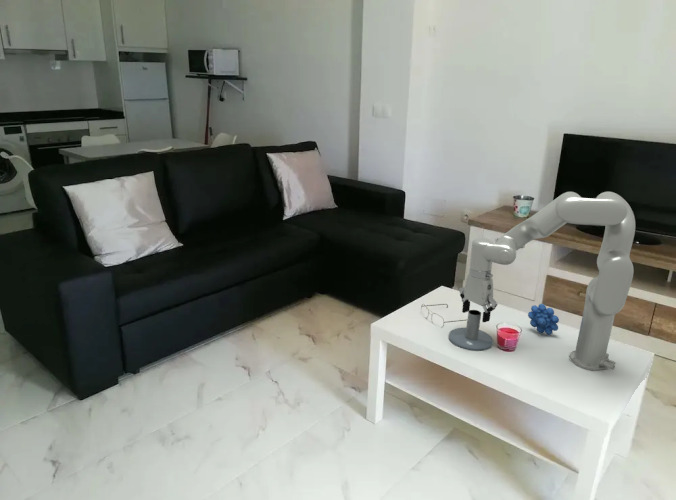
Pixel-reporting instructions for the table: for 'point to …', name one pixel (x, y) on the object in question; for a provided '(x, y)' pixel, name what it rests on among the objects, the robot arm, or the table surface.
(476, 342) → the dish
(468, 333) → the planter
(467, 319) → the eyeglasses
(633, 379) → the table surface
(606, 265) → the robot arm
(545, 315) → the grapes
